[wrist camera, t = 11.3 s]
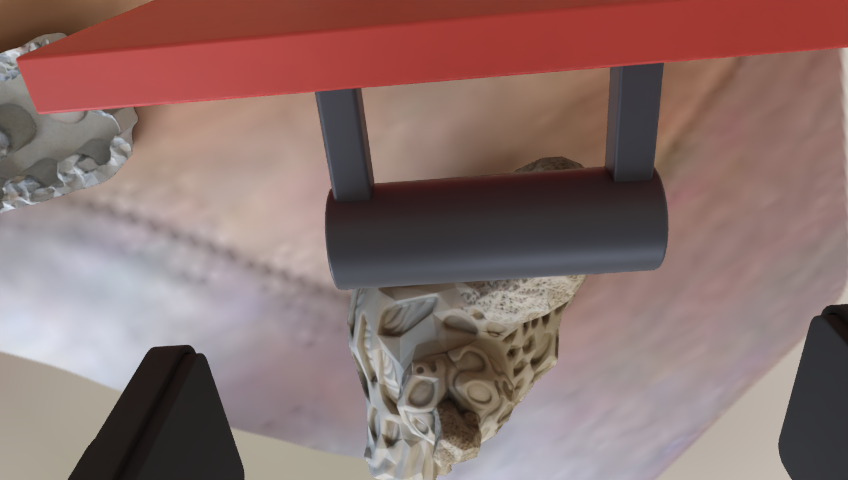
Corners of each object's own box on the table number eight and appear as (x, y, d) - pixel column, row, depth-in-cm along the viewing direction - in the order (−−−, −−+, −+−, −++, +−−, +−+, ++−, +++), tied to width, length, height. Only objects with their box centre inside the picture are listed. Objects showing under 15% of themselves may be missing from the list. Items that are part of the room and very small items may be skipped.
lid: (11, 57, 8) (138, 366, 11) (1021, -33, 8) (898, 324, 10) (282, -53, 23) (308, 92, 25) (640, -89, 22) (629, 65, 24)
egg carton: (89, 16, 32) (45, 32, 28) (162, 150, 35) (131, 179, 32) (-85, 78, 34) (-148, 101, 30) (0, 200, 37) (-46, 233, 33)
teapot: (467, 409, 44) (479, 628, 31) (311, 355, 42) (254, 566, 29) (635, 147, 35) (755, 304, 21) (443, 60, 33) (447, 177, 19)
